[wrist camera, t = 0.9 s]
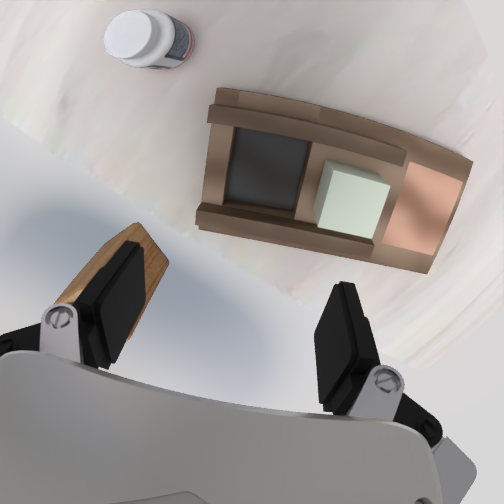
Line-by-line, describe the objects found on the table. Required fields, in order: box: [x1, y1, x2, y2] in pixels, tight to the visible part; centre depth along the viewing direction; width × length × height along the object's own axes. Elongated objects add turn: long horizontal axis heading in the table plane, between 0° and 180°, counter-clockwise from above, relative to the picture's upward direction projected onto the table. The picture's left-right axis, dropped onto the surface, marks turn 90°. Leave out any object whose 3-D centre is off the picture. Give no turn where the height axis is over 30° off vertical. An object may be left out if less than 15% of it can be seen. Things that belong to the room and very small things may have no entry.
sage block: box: [313, 159, 390, 239], centre depth 25 cm, size 5×5×4 cm
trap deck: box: [195, 88, 473, 274], centre depth 27 cm, size 14×26×4 cm, turn 80°
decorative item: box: [54, 222, 169, 341], centre depth 27 cm, size 7×7×20 cm
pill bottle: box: [104, 9, 194, 69], centre depth 19 cm, size 5×5×9 cm
